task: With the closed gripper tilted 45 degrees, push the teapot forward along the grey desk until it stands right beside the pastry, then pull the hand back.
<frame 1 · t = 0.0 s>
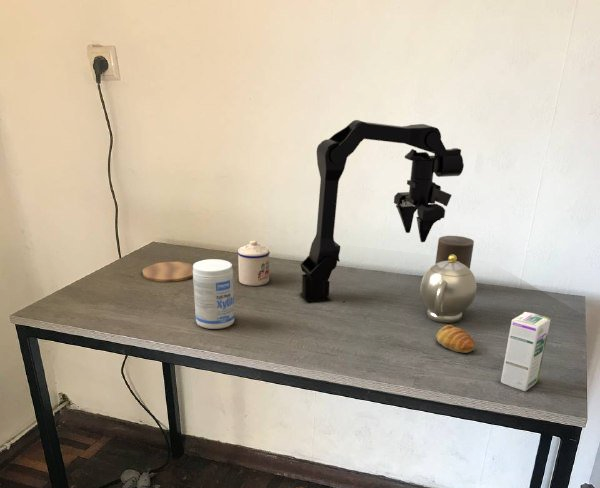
hand: (415, 237, 173), 15 cm above the table, tool pointing down, fingers open, 9 cm apart
wooden trivet: (170, 272, 188), on the table
teacup with lid: (255, 280, 184), on the table
supplement tub: (215, 323, 157), on the table
teapot: (442, 320, 161), on the table
syrup box: (518, 383, 133), on the table
pastry: (454, 345, 148), on the table
pillar candle: (449, 288, 182), on the table
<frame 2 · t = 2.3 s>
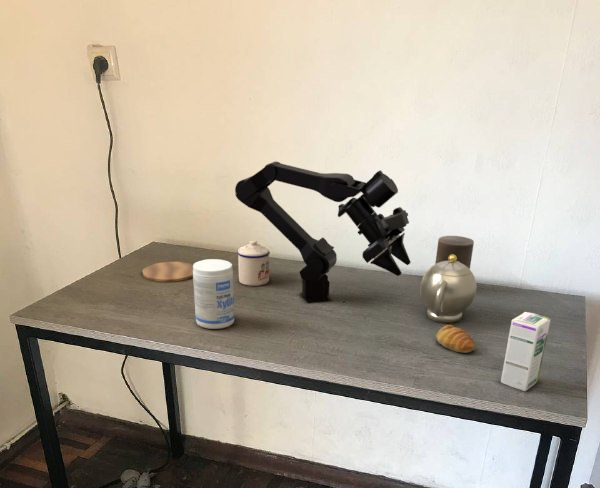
hand: (404, 269, 159), 11 cm above the table, tool tilted 45°, fingers open, 9 cm apart
nothing on the table moved.
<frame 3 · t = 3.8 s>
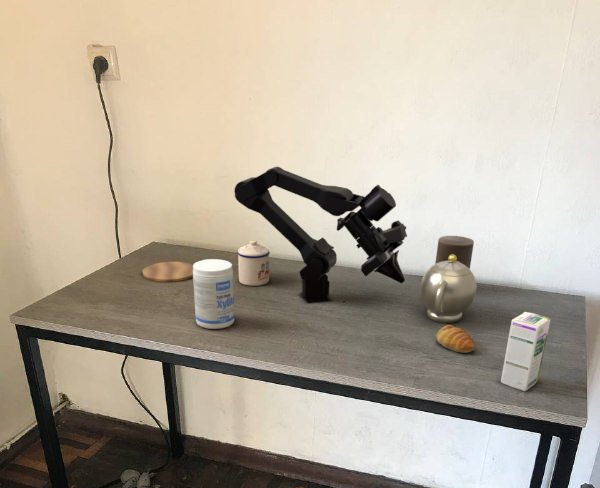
hand: (403, 281, 161), 8 cm above the table, tool tilted 45°, fingers closed
nothing on the table moved.
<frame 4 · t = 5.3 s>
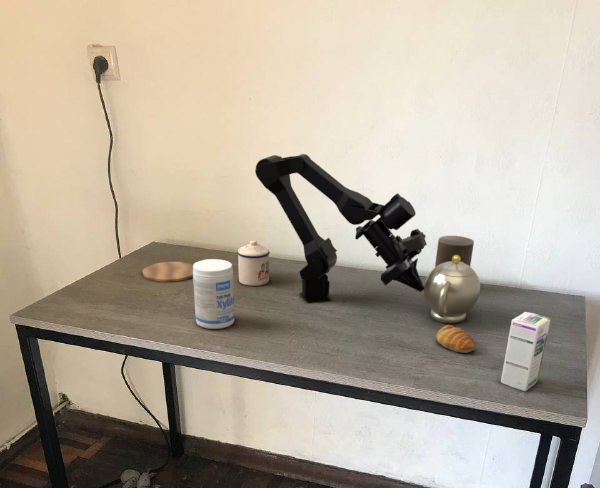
hand: (422, 290, 160), 7 cm above the table, tool tilted 45°, fingers closed
teapot: (445, 320, 161), on the table, touching gripper
everything else where it was.
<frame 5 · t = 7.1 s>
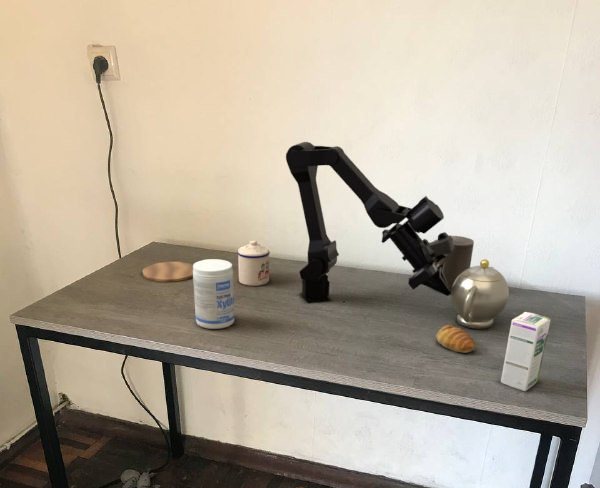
hand: (449, 294, 158), 7 cm above the table, tool tilted 45°, fingers closed, pressing on teapot
teapot: (472, 326, 158), on the table, touching gripper
everything else where it was.
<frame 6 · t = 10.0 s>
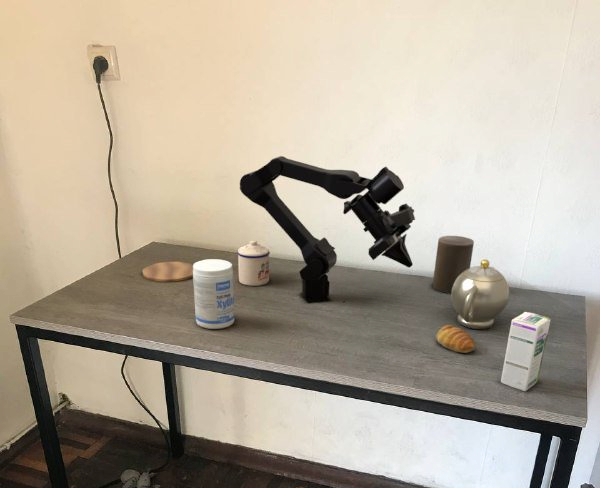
hand: (411, 266, 158), 13 cm above the table, tool tilted 45°, fingers closed
teapot: (472, 326, 158), on the table
everything else where it was.
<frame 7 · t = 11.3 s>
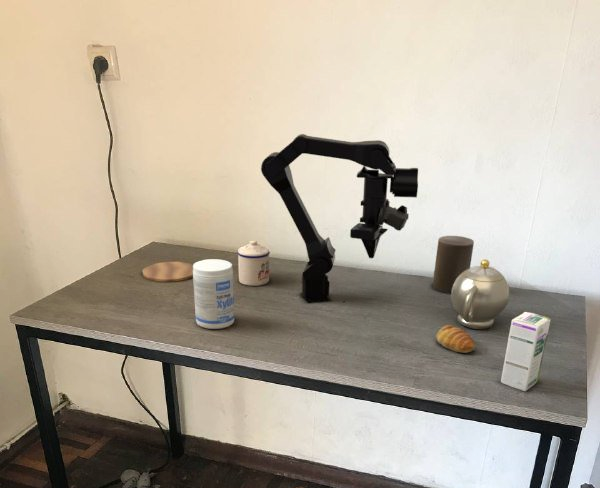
hand: (371, 257, 165), 12 cm above the table, tool pointing down, fingers closed
nothing on the table moved.
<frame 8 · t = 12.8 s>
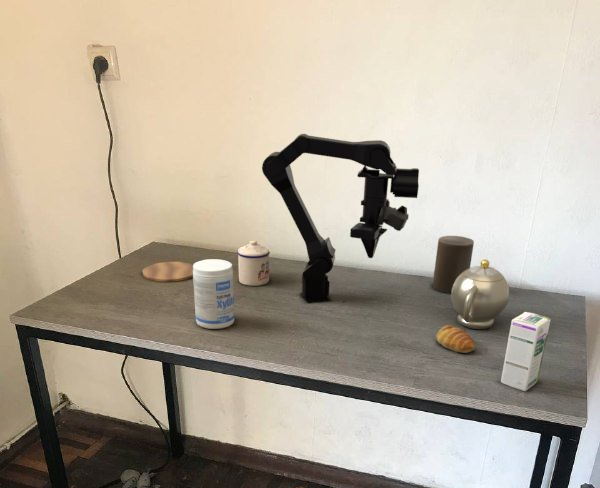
hand: (370, 257, 165), 12 cm above the table, tool pointing down, fingers closed
nothing on the table moved.
at the end: teapot 0.5 cm from the target spot on the table beside the pastry, on the table; teapot tilted 0°; pastry moved 0.2 cm from its start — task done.
